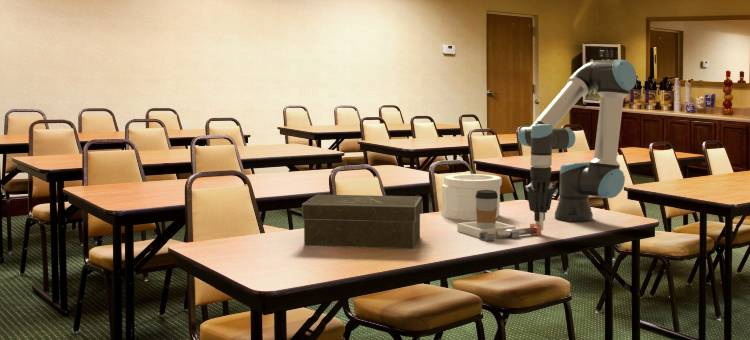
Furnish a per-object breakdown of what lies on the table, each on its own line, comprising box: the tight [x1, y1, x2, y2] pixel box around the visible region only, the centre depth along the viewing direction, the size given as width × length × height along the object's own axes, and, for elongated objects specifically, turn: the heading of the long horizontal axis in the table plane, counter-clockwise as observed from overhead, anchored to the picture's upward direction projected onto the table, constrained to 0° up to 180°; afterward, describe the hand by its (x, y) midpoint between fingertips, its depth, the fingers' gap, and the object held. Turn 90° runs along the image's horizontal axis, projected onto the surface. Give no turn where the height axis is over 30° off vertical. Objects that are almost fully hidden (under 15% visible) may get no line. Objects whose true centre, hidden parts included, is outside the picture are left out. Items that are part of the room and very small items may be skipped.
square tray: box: [456, 220, 517, 239], centre depth 295 cm, size 15×15×3 cm
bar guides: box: [478, 229, 520, 242], centre depth 284 cm, size 14×5×2 cm, turn 117°
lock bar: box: [495, 223, 542, 239], centre depth 288 cm, size 18×4×4 cm, turn 117°
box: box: [301, 193, 423, 250], centre depth 280 cm, size 22×39×15 cm, turn 81°
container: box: [440, 173, 503, 221], centre depth 333 cm, size 25×24×16 cm
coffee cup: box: [475, 190, 498, 229], centre depth 294 cm, size 8×8×15 cm
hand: (539, 229), depth 292 cm, fingers closed
